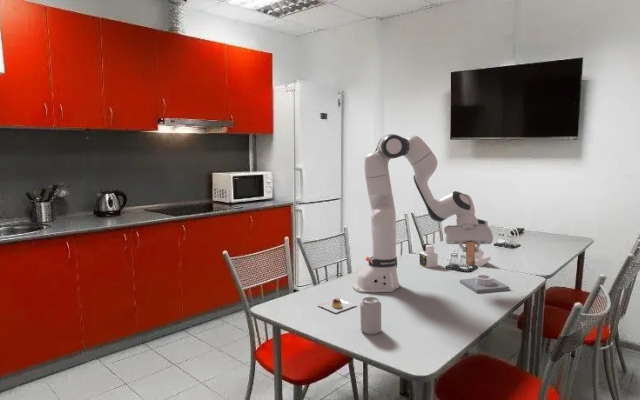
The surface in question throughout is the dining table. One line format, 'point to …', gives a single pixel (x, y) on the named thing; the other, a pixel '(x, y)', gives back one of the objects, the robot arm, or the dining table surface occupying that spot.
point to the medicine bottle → (428, 256)
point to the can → (370, 315)
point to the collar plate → (483, 288)
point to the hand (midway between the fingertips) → (470, 251)
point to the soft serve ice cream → (481, 258)
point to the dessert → (337, 304)
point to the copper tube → (470, 253)
